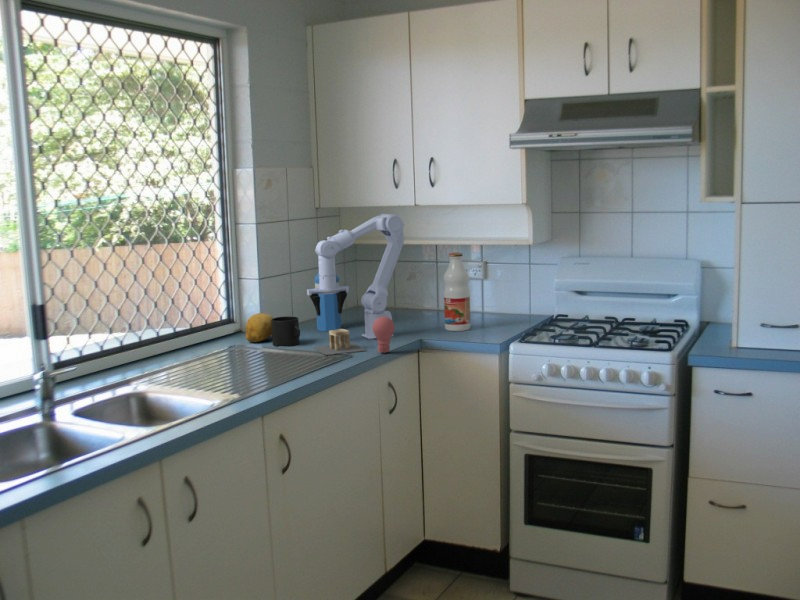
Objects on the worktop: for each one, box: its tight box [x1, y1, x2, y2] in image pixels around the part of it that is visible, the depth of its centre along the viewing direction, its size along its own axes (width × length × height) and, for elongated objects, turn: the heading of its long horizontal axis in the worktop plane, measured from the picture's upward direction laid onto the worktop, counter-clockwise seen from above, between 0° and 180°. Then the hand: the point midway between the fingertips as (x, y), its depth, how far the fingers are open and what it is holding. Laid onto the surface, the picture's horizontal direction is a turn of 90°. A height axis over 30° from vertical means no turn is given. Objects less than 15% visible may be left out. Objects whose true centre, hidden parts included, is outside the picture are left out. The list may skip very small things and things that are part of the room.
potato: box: [245, 312, 274, 343], centre depth 304 cm, size 10×12×10 cm
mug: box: [271, 315, 301, 347], centre depth 295 cm, size 9×12×9 cm
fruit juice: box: [443, 252, 471, 332], centre depth 311 cm, size 9×9×28 cm
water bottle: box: [314, 271, 342, 332], centre depth 321 cm, size 9×9×25 cm
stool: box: [328, 328, 351, 351], centre depth 284 cm, size 5×5×6 cm
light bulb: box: [373, 317, 396, 354], centre depth 275 cm, size 7×7×12 cm
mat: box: [313, 342, 368, 356], centre depth 284 cm, size 14×14×1 cm
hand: (329, 314), depth 296 cm, fingers open, 7 cm apart
